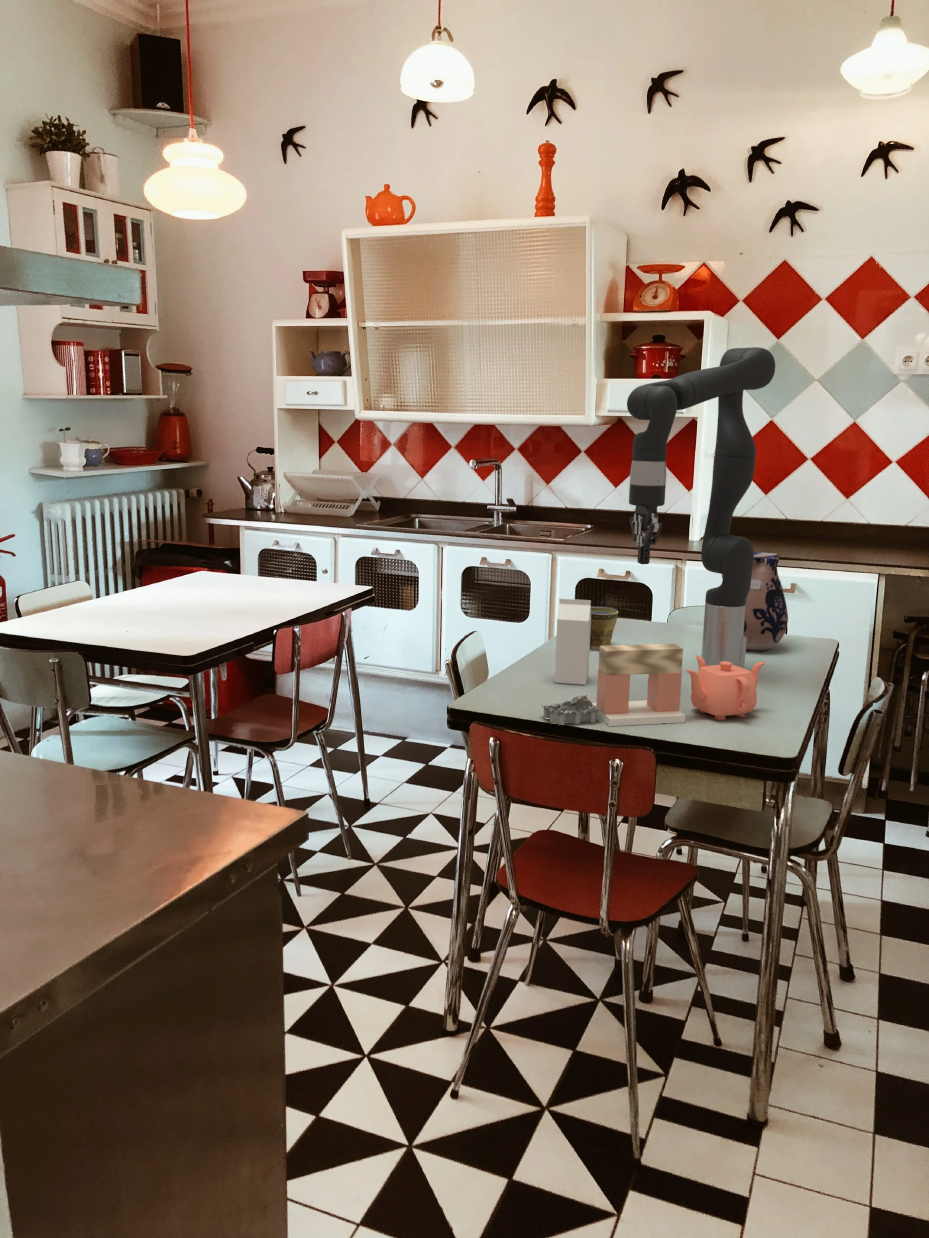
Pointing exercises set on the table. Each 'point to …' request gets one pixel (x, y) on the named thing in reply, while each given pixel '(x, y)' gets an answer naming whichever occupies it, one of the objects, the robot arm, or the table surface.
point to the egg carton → (572, 711)
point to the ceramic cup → (602, 626)
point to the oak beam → (640, 659)
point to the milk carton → (573, 641)
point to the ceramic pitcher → (765, 604)
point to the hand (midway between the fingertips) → (643, 563)
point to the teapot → (724, 689)
